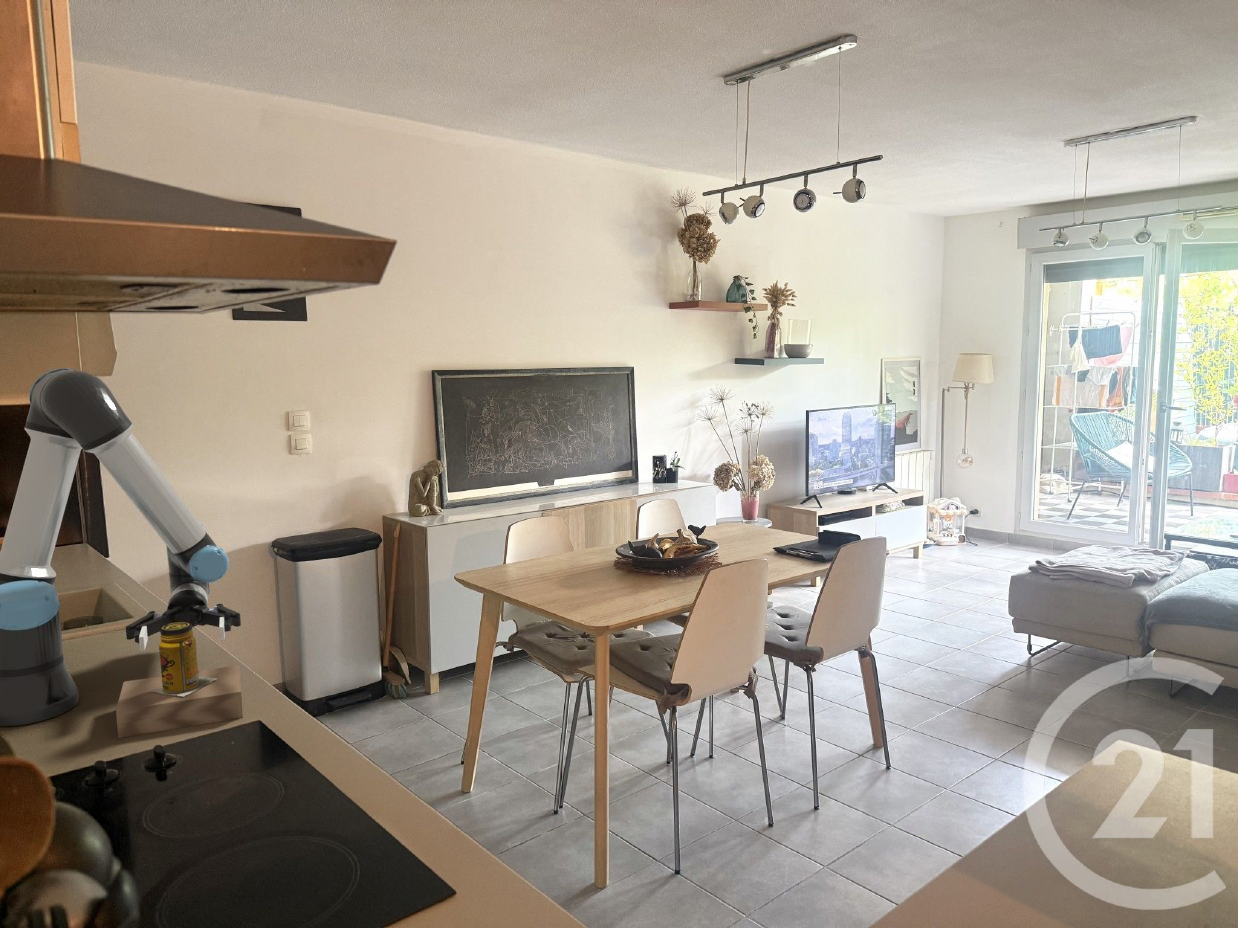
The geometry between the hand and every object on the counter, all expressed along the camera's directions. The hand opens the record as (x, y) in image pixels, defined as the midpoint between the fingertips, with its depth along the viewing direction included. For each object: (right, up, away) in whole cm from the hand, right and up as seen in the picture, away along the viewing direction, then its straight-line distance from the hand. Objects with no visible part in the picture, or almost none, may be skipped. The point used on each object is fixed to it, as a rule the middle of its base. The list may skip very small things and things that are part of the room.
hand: (182, 638), depth 164 cm
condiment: (+2, -9, -3) cm, 9 cm away
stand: (+1, -13, -2) cm, 13 cm away
